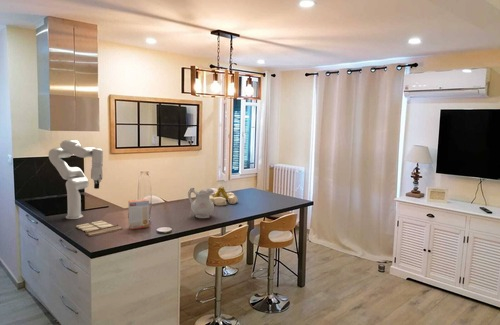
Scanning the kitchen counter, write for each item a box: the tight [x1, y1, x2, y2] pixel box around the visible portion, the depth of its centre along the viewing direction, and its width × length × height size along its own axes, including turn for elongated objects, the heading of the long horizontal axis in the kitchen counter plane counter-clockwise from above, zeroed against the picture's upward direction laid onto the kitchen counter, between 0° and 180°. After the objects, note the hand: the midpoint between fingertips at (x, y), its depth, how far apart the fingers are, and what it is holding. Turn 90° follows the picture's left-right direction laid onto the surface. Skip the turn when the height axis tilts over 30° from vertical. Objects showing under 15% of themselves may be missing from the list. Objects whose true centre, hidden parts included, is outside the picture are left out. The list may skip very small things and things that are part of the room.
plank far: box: [90, 220, 114, 229], centre depth 275 cm, size 18×9×1 cm, turn 50°
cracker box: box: [128, 198, 150, 230], centre depth 274 cm, size 14×6×21 cm, turn 121°
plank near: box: [75, 222, 100, 233], centre depth 267 cm, size 18×9×1 cm, turn 50°
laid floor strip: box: [85, 224, 124, 237], centre depth 262 cm, size 7×24×2 cm, turn 140°
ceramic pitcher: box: [187, 187, 215, 219], centre depth 310 cm, size 22×20×25 cm
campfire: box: [209, 185, 239, 207], centre depth 367 cm, size 35×34×17 cm
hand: (96, 188), depth 281 cm, fingers closed
